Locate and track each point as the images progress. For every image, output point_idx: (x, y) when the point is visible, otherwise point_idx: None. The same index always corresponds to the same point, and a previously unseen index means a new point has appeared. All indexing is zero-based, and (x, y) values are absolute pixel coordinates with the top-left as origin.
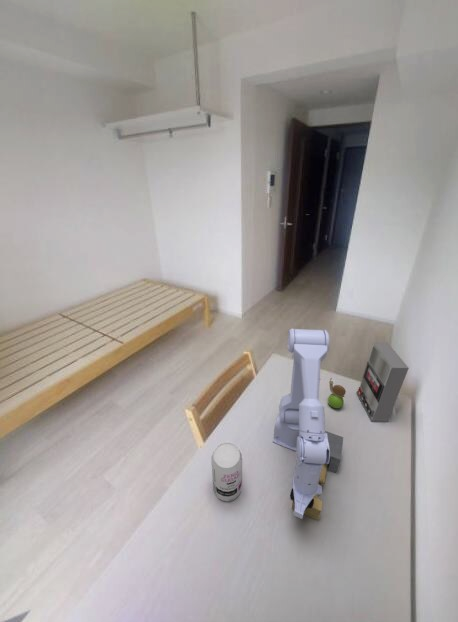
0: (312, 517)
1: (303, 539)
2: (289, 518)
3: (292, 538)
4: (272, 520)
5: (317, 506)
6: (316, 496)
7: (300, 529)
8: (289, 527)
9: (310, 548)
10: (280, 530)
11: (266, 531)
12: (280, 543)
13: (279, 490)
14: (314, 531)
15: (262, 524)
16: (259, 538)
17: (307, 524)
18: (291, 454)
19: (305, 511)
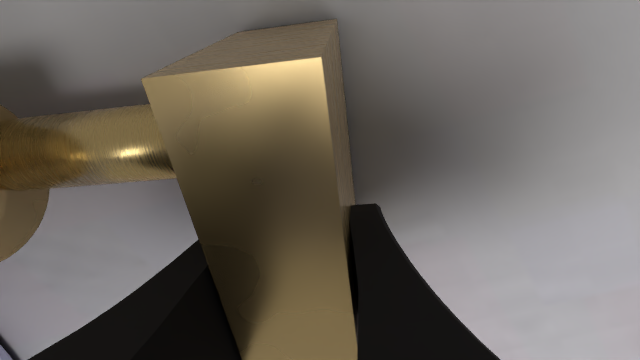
0: (342, 82)
1: (554, 97)
2: (435, 232)
3: (574, 177)
4: (497, 313)
5: (284, 133)
6: (144, 134)
7: (480, 142)
8: (499, 216)
9: (617, 13)
10: (543, 260)
11: (579, 324)
12: (635, 239)
13: None
14: (446, 22)
15: (544, 349)
16: (634, 343)
17: (414, 100)
18: (22, 323)
19: (348, 170)
